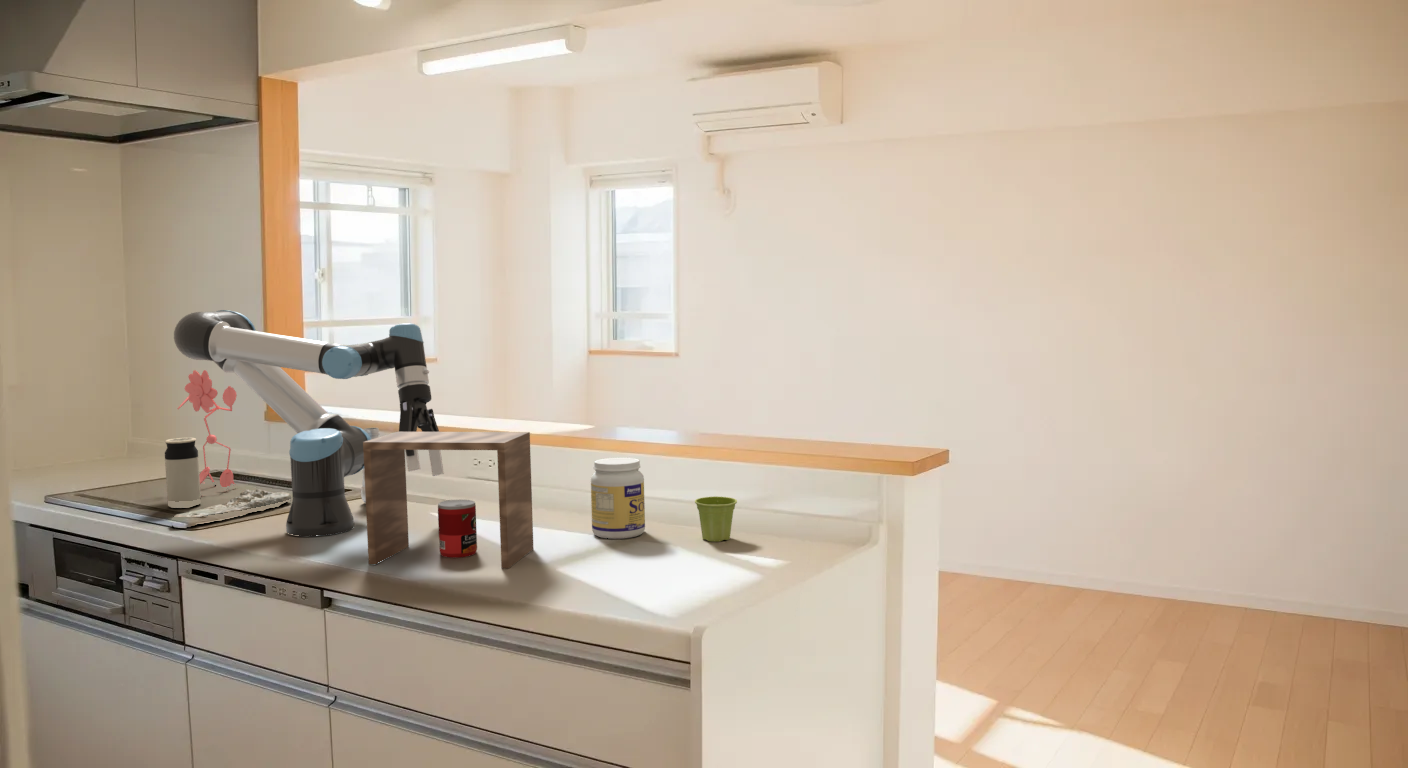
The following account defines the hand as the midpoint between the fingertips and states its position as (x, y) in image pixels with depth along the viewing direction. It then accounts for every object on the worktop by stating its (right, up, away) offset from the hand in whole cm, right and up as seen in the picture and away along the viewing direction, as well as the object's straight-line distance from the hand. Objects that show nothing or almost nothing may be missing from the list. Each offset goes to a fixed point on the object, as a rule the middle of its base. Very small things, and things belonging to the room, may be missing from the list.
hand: (426, 472), depth 257 cm
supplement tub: (+47, -13, -11) cm, 50 cm away
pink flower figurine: (-77, -10, +52) cm, 94 cm away
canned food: (+14, -15, -27) cm, 34 cm away
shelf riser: (+13, -15, -30) cm, 36 cm away
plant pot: (+69, -13, -17) cm, 72 cm away
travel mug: (-72, -12, +31) cm, 79 cm away
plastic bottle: (-22, -11, +30) cm, 39 cm away
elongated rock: (-54, -13, +19) cm, 58 cm away
